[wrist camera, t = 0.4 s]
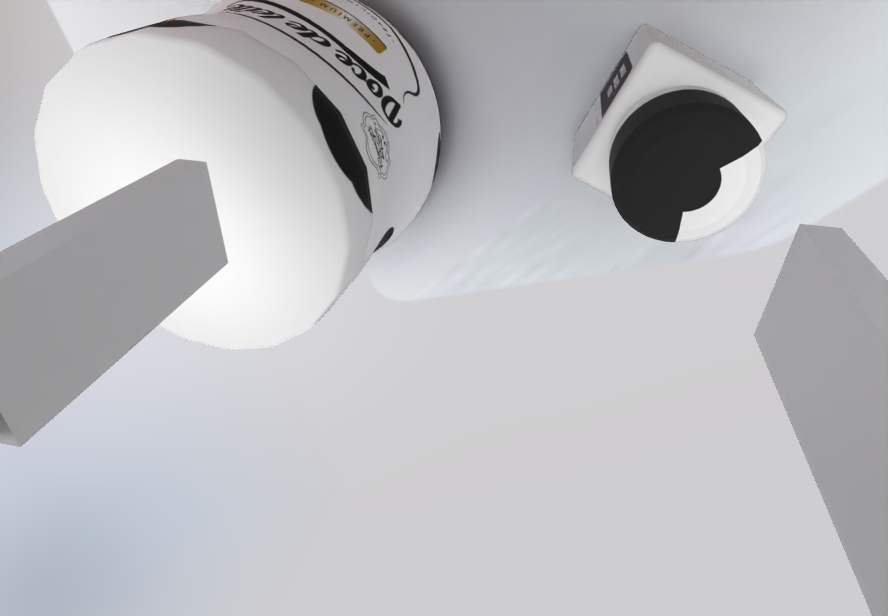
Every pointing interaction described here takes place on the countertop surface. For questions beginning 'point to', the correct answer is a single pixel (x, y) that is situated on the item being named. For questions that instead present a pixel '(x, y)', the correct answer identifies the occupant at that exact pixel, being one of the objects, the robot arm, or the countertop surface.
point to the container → (676, 140)
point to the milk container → (255, 147)
